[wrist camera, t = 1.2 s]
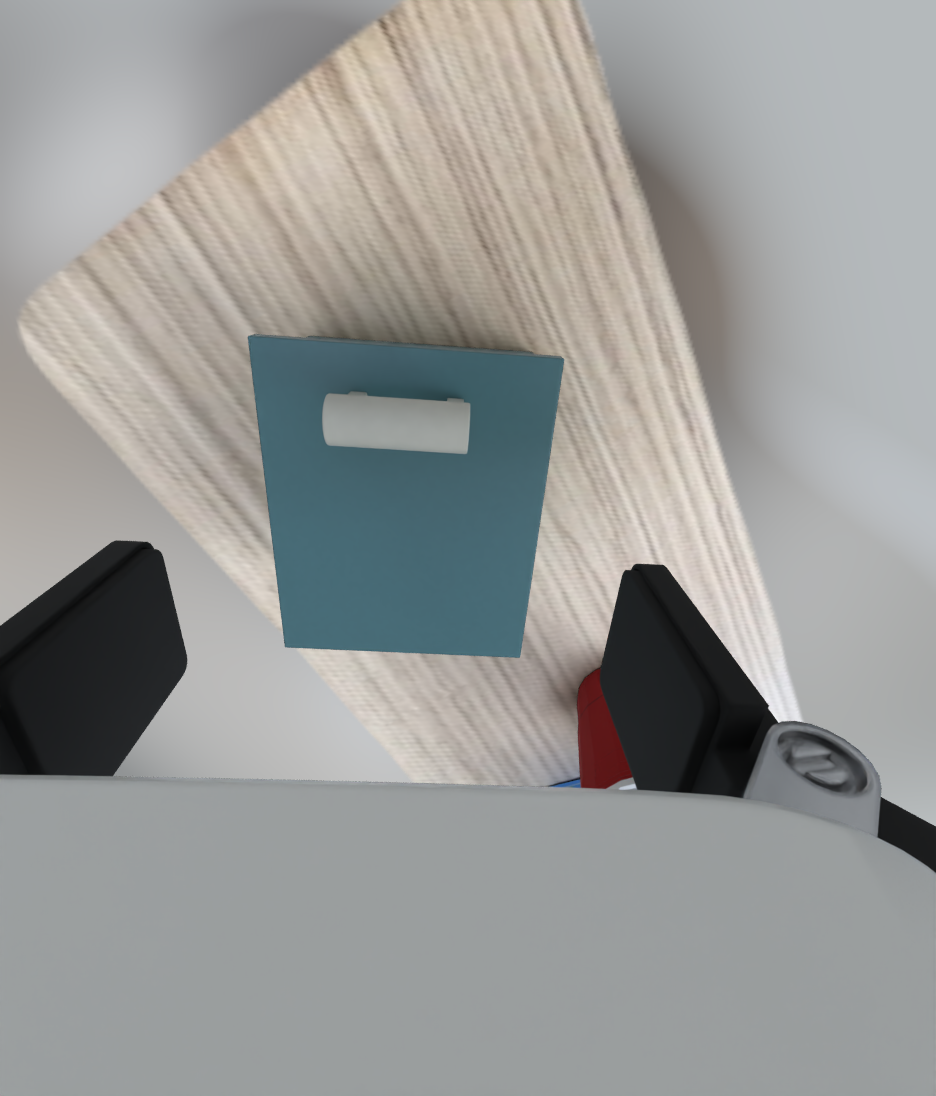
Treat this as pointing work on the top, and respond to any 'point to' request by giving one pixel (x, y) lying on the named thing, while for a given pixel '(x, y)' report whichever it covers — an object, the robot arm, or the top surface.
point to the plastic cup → (599, 741)
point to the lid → (403, 491)
